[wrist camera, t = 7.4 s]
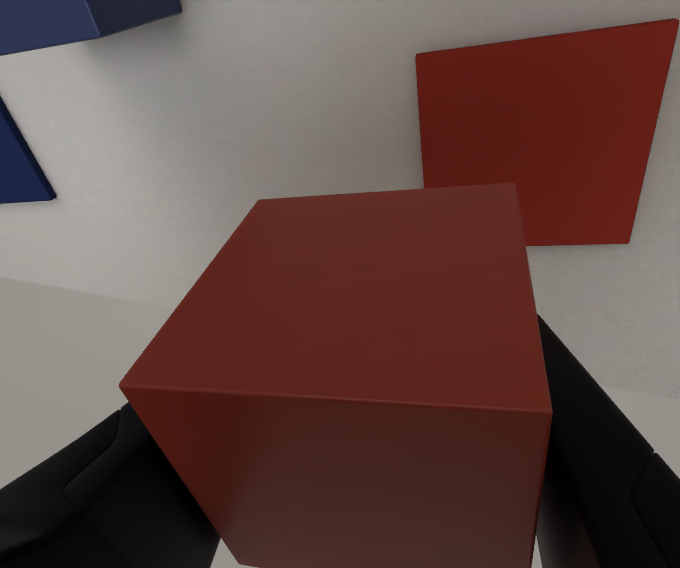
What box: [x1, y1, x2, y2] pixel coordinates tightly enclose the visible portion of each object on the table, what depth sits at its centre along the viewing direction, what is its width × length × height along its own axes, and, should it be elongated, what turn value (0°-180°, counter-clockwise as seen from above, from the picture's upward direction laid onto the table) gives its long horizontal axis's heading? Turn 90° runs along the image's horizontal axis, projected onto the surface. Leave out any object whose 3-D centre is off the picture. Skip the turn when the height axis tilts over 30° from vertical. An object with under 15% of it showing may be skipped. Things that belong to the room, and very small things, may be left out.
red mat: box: [415, 18, 679, 246], centre depth 18 cm, size 8×8×1 cm
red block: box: [119, 183, 553, 568], centre depth 8 cm, size 5×5×5 cm
